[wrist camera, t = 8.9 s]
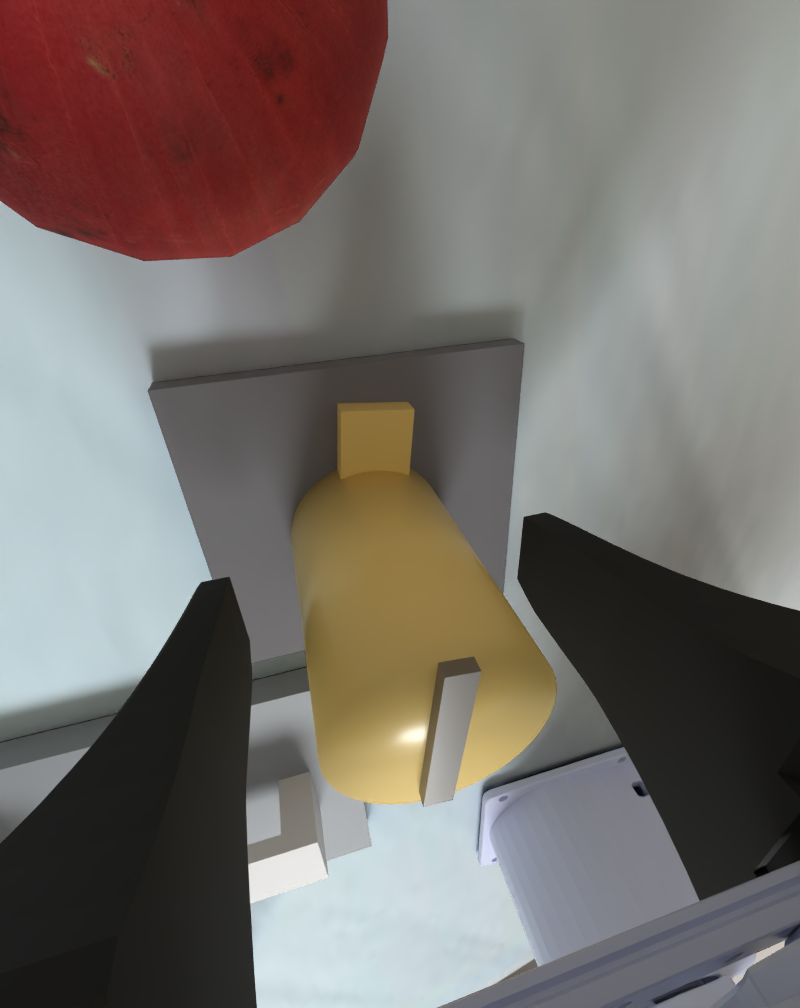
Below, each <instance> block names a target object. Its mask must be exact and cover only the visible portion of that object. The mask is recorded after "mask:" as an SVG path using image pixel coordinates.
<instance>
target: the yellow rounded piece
mask: <svg viewBox="0 0 800 1008" xmlns="http://www.w3.org/2000/svg"><path fill="white" fill-rule="evenodd" d="M414 411H415V410H414V408H413V407H412V406H411V405H410V404H409V402H374V403H337V470H335V471H333V472H331V473H329V474H328V475H326V476H325V477H323V478H322V479H320V480H319V481H318V482H317V483H316V484H314V485H313V486H312V487H311V488H310V489H309V491H308V492H307V493H306V494H305V495H304V497H303V498H302V500H301V501H300V503H299V505H298V507H297V509H296V511H295V514H294V516H293V520H292V525H291V542H292V551H293V559H294V567H295V575H296V583H297V591H298V599H299V607H300V615H301V623H302V631H303V639H304V647H305V655H306V663H307V672H308V680H309V688H310V696H311V704H312V712H313V720H314V728H315V736H316V744H317V752H318V760H319V766H320V769H321V772H322V774H323V776H324V778H325V779H326V780H327V782H328V783H329V784H330V785H331V786H332V787H333V788H334V789H335V790H337V791H338V792H340V793H342V794H343V795H345V796H347V797H350V798H352V799H355V800H359V801H363V802H367V803H374V804H406V803H413V802H419V801H422V804H423V807H426V806H430V805H434V804H438V803H442V802H446V801H450V800H453V798H454V793H455V791H458V790H460V789H462V788H465V787H467V786H469V785H472V784H474V783H476V782H478V781H480V780H482V779H483V778H485V777H487V776H489V775H490V774H492V773H494V772H495V771H497V770H498V769H500V768H501V767H503V766H504V765H506V764H507V763H508V762H510V761H511V760H512V759H513V758H515V757H516V756H517V755H518V754H519V753H521V752H522V751H523V750H524V749H525V748H526V747H527V746H528V745H529V744H530V743H531V742H532V741H533V739H534V738H535V737H536V736H537V735H538V733H539V732H540V731H541V729H542V728H543V727H544V725H545V723H546V721H547V720H548V718H549V716H550V714H551V712H552V709H553V707H554V703H555V699H556V692H557V685H556V678H555V675H554V672H553V669H552V668H551V666H550V665H549V663H548V661H547V660H546V658H545V657H544V655H543V654H542V652H541V651H540V649H539V648H538V646H537V645H536V643H535V642H534V640H533V639H532V637H531V636H530V634H529V633H528V631H527V630H526V628H525V627H524V625H523V624H522V622H521V621H520V619H519V618H518V616H517V615H516V613H515V612H514V610H513V609H512V607H511V606H510V604H509V603H508V601H507V600H506V598H505V597H504V595H503V594H502V592H501V591H500V589H499V588H498V586H497V585H496V583H495V582H494V580H493V579H492V577H491V576H490V574H489V573H488V571H487V570H486V568H485V567H484V565H483V564H482V562H481V561H480V559H479V558H478V556H477V555H476V553H475V552H474V550H473V549H472V547H471V546H470V544H469V543H468V541H467V540H466V538H465V537H464V535H463V534H462V532H461V531H460V529H459V528H458V526H457V525H456V523H455V522H454V520H453V519H452V517H451V516H450V514H449V513H448V511H447V510H446V508H445V507H444V505H443V504H442V502H441V501H440V499H439V498H438V496H437V495H436V493H435V492H434V490H433V489H432V487H431V486H430V484H429V483H428V482H427V481H426V480H425V479H424V478H423V477H422V476H421V475H419V474H418V473H417V472H415V471H413V470H412V469H410V458H411V447H412V435H413V423H414Z"/></svg>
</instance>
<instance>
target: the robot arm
mask: <svg viewBox="0 0 800 1008" xmlns="http://www.w3.org/2000/svg"><path fill="white" fill-rule="evenodd" d="M517 579H518V581H519V583H520V585H521V587H522V589H523V591H524V593H525V595H526V597H527V599H528V601H529V602H530V604H531V606H532V608H533V610H534V611H535V613H536V614H537V616H538V617H539V619H540V620H541V622H542V623H543V624H544V626H545V627H546V629H547V630H548V631H549V633H550V634H551V636H552V637H553V638H554V640H555V641H556V643H557V644H558V645H559V647H560V648H561V649H562V651H563V652H564V654H565V655H566V656H567V658H568V659H569V661H570V662H571V663H572V665H573V666H574V667H575V669H576V670H577V672H578V673H579V674H580V676H581V677H582V678H583V680H584V681H585V683H586V684H587V686H588V687H589V689H590V690H591V692H592V693H593V695H594V696H595V698H596V699H597V701H598V703H599V704H600V706H601V708H602V709H603V711H604V713H605V715H606V716H607V718H608V720H609V721H610V723H611V725H612V727H613V728H614V730H615V732H616V733H617V735H618V737H619V739H620V741H621V742H622V744H623V746H624V747H622V748H619V749H615V750H612V751H609V752H606V753H603V754H600V755H597V756H594V757H590V758H587V759H584V760H581V761H578V762H575V763H572V764H569V765H565V766H562V767H559V768H556V769H553V770H550V771H547V772H543V773H540V774H537V775H534V776H531V777H528V778H525V779H522V780H518V781H515V782H512V783H509V784H506V785H503V786H500V787H497V788H493V789H491V790H488V791H487V792H485V794H484V795H483V798H482V811H481V824H480V836H479V849H478V860H479V863H480V865H481V866H488V865H491V864H494V863H497V862H498V863H499V866H500V868H501V871H502V873H503V876H504V879H505V881H506V884H507V886H508V889H509V892H510V894H511V897H512V900H513V902H514V905H515V907H516V910H517V913H518V915H519V918H520V920H521V923H522V926H523V928H524V931H525V933H526V936H527V939H528V941H529V944H530V947H531V949H532V952H533V954H534V957H535V960H536V962H537V965H538V967H536V968H534V969H531V970H529V971H527V972H524V973H521V974H519V975H516V976H514V977H512V978H510V979H507V980H504V981H502V982H499V983H497V984H494V985H492V986H489V987H487V988H484V989H482V990H480V991H477V992H475V993H472V994H470V995H467V996H465V997H462V998H460V999H457V1000H455V1001H452V1002H450V1003H448V1004H445V1005H443V1006H440V1007H438V1008H800V611H798V610H794V609H790V608H786V607H782V606H778V605H775V604H771V603H768V602H764V601H761V600H757V599H754V598H750V597H747V596H743V595H740V594H737V593H734V592H730V591H727V590H724V589H721V588H718V587H715V586H712V585H710V584H707V583H704V582H701V581H698V580H696V579H693V578H690V577H687V576H685V575H682V574H679V573H677V572H674V571H672V570H669V569H667V568H665V567H662V566H660V565H658V564H655V563H653V562H650V561H648V560H646V559H643V558H641V557H639V556H637V555H635V554H632V553H630V552H628V551H626V550H624V549H622V548H620V547H617V546H615V545H613V544H611V543H609V542H607V541H605V540H603V539H601V538H599V537H597V536H595V535H593V534H591V533H589V532H587V531H585V530H583V529H581V528H579V527H577V526H575V525H572V524H570V523H568V522H566V521H564V520H562V519H560V518H558V517H555V516H553V515H551V514H548V513H546V512H545V513H540V514H535V515H531V516H526V517H524V520H523V529H522V539H521V549H520V558H519V568H518V578H517ZM251 698H252V665H251V650H250V639H249V636H248V633H247V630H246V627H245V624H244V620H243V617H242V614H241V611H240V608H239V605H238V601H237V598H236V595H235V592H234V589H233V586H232V582H231V579H230V577H225V578H220V579H215V580H210V581H205V582H201V583H200V585H199V586H198V587H197V589H196V591H195V593H194V594H193V596H192V598H191V600H190V602H189V604H188V605H187V607H186V609H185V611H184V613H183V614H182V616H181V618H180V620H179V621H178V623H177V625H176V626H175V628H174V630H173V632H172V633H171V635H170V636H169V638H168V640H167V641H166V643H165V645H164V646H163V648H162V649H161V651H160V653H159V654H158V656H157V658H156V659H155V661H154V662H153V664H152V665H151V667H150V668H149V670H148V671H147V672H146V674H145V675H144V677H143V678H142V680H141V681H140V683H139V684H138V686H137V687H136V688H135V690H134V691H133V693H132V694H131V696H130V697H129V698H128V700H127V701H126V703H125V704H124V705H123V707H122V708H121V709H120V711H119V712H118V713H117V715H116V716H115V717H114V718H113V720H112V721H111V722H110V724H109V725H108V726H107V727H106V729H105V730H104V731H103V732H102V734H101V735H100V736H99V737H98V739H97V740H96V741H95V742H94V743H93V745H92V746H91V747H90V748H89V749H88V751H87V752H86V753H85V754H84V755H83V756H82V758H81V759H80V760H79V761H78V762H77V763H76V764H75V766H74V767H73V768H72V769H71V770H70V771H69V772H68V773H67V774H66V775H65V777H64V778H63V779H62V780H61V781H60V782H59V783H58V784H57V785H56V786H55V788H54V789H53V790H52V791H51V792H50V793H49V794H48V795H47V796H46V797H45V799H44V800H43V801H42V802H41V803H40V804H39V805H38V806H37V807H36V808H35V809H34V810H33V811H32V812H31V813H30V814H29V815H28V816H27V817H26V818H25V819H24V820H23V821H22V822H21V823H20V824H19V825H18V826H17V827H16V828H15V829H14V830H13V831H12V832H11V833H10V834H9V835H8V836H7V837H6V838H5V839H4V840H3V841H2V842H1V843H0V1008H257V1005H256V991H255V977H254V961H253V944H252V927H251V910H250V890H249V868H248V845H247V815H246V782H247V764H248V748H249V732H250V716H251ZM784 940H786V941H785V946H784V947H783V948H782V949H780V950H778V951H777V952H775V953H773V954H771V955H770V956H768V957H766V958H764V959H763V960H761V961H759V962H757V963H756V964H754V965H753V963H754V961H755V958H756V953H757V952H759V951H762V950H764V949H766V948H769V947H771V946H773V945H775V944H777V943H780V942H782V941H784ZM744 972H746V973H745V975H744V977H743V979H742V980H741V981H740V982H739V983H738V984H737V985H735V983H734V982H733V980H732V978H734V977H736V976H738V975H741V974H742V973H744Z"/></svg>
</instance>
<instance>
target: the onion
mask: <svg viewBox="0 0 800 1008" xmlns="http://www.w3.org/2000/svg"><path fill="white" fill-rule="evenodd" d="M387 40H388V11H387V0H0V201H1V202H3V203H4V204H5V205H7V206H8V207H10V208H11V209H12V210H14V211H15V212H17V213H18V214H19V215H21V216H22V217H24V218H25V219H26V220H28V221H29V222H31V223H32V224H33V225H35V226H36V227H38V228H42V229H45V230H48V231H51V232H54V233H57V234H60V235H64V236H67V237H70V238H73V239H76V240H79V241H83V242H86V243H89V244H92V245H95V246H98V247H102V248H105V249H108V250H111V251H114V252H117V253H121V254H124V255H127V256H130V257H133V258H136V259H140V260H143V261H156V260H175V259H195V258H214V257H231V256H233V255H235V254H237V253H239V252H241V251H243V250H245V249H247V248H249V247H250V246H252V245H254V244H256V243H258V242H260V241H262V240H264V239H266V238H268V237H270V236H272V235H274V234H276V233H278V232H280V231H282V230H284V229H286V228H288V227H289V226H291V225H293V224H295V223H297V222H299V221H300V220H301V219H302V218H303V217H304V215H305V214H306V213H307V212H308V211H309V209H310V208H311V207H312V206H313V205H314V203H315V202H316V201H317V200H318V199H319V198H320V196H321V195H322V194H323V193H324V192H325V190H326V189H327V188H328V187H329V186H330V184H331V183H332V182H333V181H334V180H335V178H336V177H337V176H338V175H339V174H340V173H341V171H342V170H343V169H344V168H345V167H346V165H347V164H348V163H349V162H350V161H351V159H352V158H353V157H354V155H355V153H356V151H357V150H358V148H359V144H360V141H361V137H362V133H363V130H364V126H365V123H366V119H367V115H368V112H369V108H370V105H371V101H372V97H373V94H374V90H375V87H376V83H377V79H378V76H379V72H380V69H381V65H382V61H383V57H384V53H385V49H386V44H387Z"/></svg>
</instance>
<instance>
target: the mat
mask: <svg viewBox="0 0 800 1008" xmlns="http://www.w3.org/2000/svg"><path fill="white" fill-rule="evenodd" d="M523 355H524V343H522V342H520V341H518V340H516V339H506V340H498V341H489V342H481V343H473V344H465V345H457V346H449V347H441V348H432V349H424V350H416V351H408V352H400V353H392V354H384V355H375V356H367V357H359V358H351V359H343V360H335V361H326V362H318V363H310V364H302V365H294V366H286V367H278V368H269V369H261V370H253V371H245V372H237V373H229V374H220V375H212V376H204V377H196V378H188V379H180V380H172V381H163V382H155V383H152V385H151V386H150V388H149V390H148V393H149V396H150V399H151V402H152V405H153V408H154V410H155V413H156V416H157V419H158V422H159V425H160V428H161V431H162V434H163V437H164V440H165V443H166V445H167V448H168V451H169V454H170V457H171V460H172V463H173V466H174V469H175V472H176V475H177V478H178V480H179V483H180V486H181V489H182V492H183V495H184V498H185V501H186V504H187V507H188V510H189V513H190V515H191V518H192V521H193V524H194V527H195V530H196V533H197V536H198V539H199V542H200V545H201V548H202V550H203V553H204V556H205V559H206V562H207V565H208V568H209V571H210V574H211V577H212V580H215V579H220V578H225V577H230V579H231V582H232V586H233V589H234V592H235V595H236V598H237V601H238V605H239V608H240V611H241V614H242V617H243V620H244V624H245V627H246V630H247V633H248V636H249V639H250V650H251V663H254V662H259V661H263V660H267V659H271V658H275V657H280V656H284V655H288V654H292V653H296V652H300V651H305V647H304V639H303V631H302V623H301V615H300V607H299V599H298V591H297V583H296V575H295V567H294V559H293V551H292V542H291V525H292V520H293V516H294V514H295V511H296V509H297V507H298V505H299V503H300V501H301V500H302V498H303V497H304V495H305V494H306V493H307V492H308V491H309V489H310V488H311V487H312V486H313V485H314V484H316V483H317V482H318V481H319V480H320V479H322V478H323V477H325V476H326V475H328V474H329V473H331V472H333V471H335V470H337V403H374V402H409V404H410V405H411V406H412V407H413V408H414V410H415V411H414V423H413V435H412V447H411V458H410V469H412V470H413V471H415V472H417V473H418V474H419V475H421V476H422V477H423V478H424V479H425V480H426V481H427V482H428V483H429V484H430V486H431V487H432V489H433V490H434V492H435V493H436V495H437V496H438V498H439V499H440V501H441V502H442V504H443V505H444V507H445V508H446V510H447V511H448V513H449V514H450V516H451V517H452V519H453V520H454V522H455V523H456V525H457V526H458V528H459V529H460V531H461V532H462V534H463V535H464V537H465V538H466V540H467V541H468V543H469V544H470V546H471V547H472V549H473V550H474V552H475V553H476V555H477V556H478V558H479V559H480V561H481V562H482V564H483V565H484V567H485V568H486V570H487V571H488V573H489V574H490V576H491V577H492V579H493V580H494V582H495V583H496V585H497V586H498V588H499V589H500V591H501V592H502V594H503V590H504V579H505V567H506V555H507V543H508V532H509V520H510V508H511V496H512V485H513V473H514V461H515V449H516V438H517V426H518V414H519V402H520V391H521V379H522V367H523Z"/></svg>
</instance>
